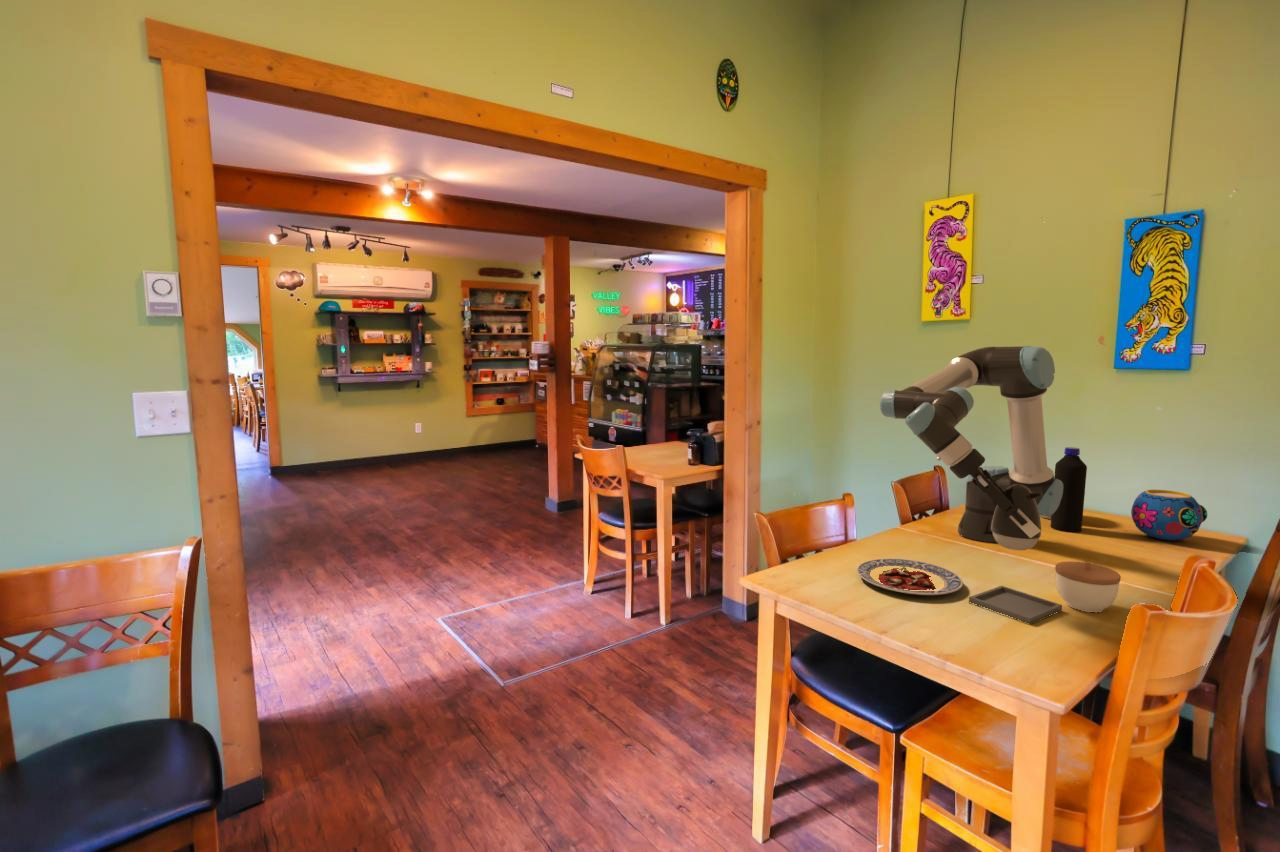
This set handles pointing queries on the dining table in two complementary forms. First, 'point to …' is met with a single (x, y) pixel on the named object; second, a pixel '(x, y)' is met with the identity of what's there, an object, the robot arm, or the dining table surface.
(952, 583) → the ceramic plate
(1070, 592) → the lidded bowl
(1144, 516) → the ceramic pot
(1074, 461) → the bottle
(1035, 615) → the tray
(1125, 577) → the dining table surface
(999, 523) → the pump dispenser
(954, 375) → the robot arm
